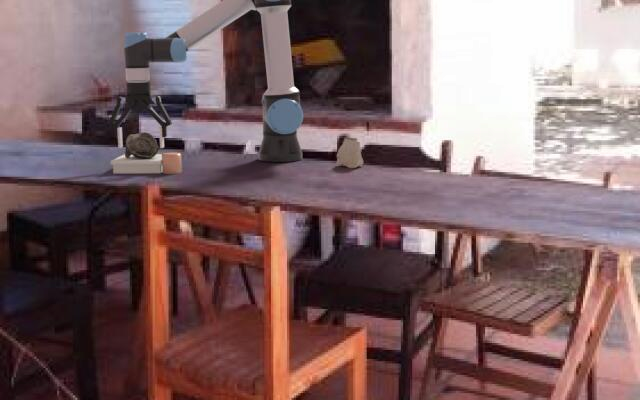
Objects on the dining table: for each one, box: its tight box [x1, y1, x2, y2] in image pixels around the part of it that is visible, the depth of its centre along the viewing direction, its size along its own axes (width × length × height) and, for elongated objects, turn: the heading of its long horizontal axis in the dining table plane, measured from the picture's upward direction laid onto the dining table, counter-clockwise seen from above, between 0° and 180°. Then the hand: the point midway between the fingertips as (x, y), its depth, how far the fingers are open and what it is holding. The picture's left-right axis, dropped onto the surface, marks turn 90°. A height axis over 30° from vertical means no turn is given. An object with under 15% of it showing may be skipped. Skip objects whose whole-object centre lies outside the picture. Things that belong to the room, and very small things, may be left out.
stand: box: [110, 153, 163, 175], centre depth 299 cm, size 16×16×4 cm
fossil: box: [124, 131, 160, 159], centre depth 298 cm, size 11×9×10 cm
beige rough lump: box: [336, 137, 364, 169], centre depth 299 cm, size 9×8×10 cm
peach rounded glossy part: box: [161, 152, 183, 175], centre depth 292 cm, size 6×6×6 cm
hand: (141, 147), depth 298 cm, fingers open, 13 cm apart
